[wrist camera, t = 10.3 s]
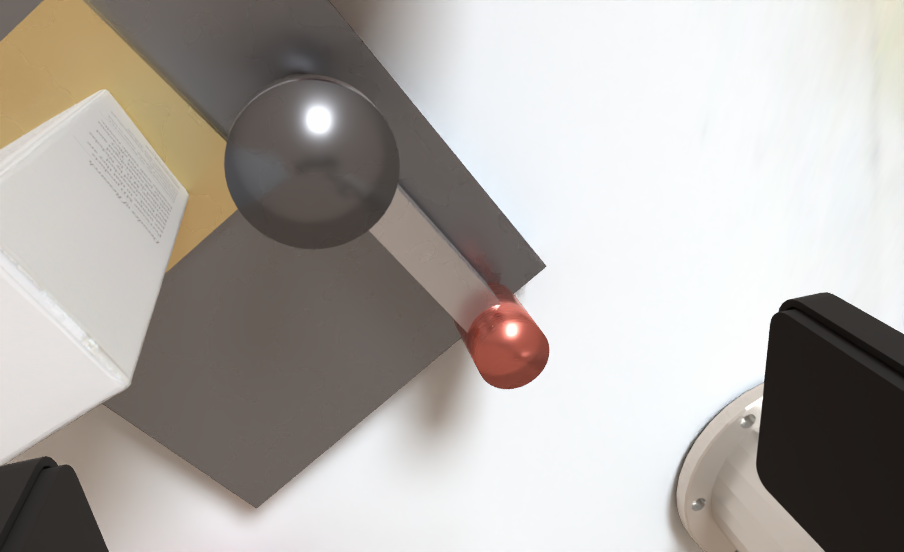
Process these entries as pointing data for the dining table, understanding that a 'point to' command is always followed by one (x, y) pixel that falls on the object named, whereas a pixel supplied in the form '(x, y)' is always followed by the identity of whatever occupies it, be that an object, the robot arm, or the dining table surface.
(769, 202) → the dining table surface
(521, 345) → the lever
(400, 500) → the dining table surface
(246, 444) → the press bed
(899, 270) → the dining table surface
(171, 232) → the skincare box
